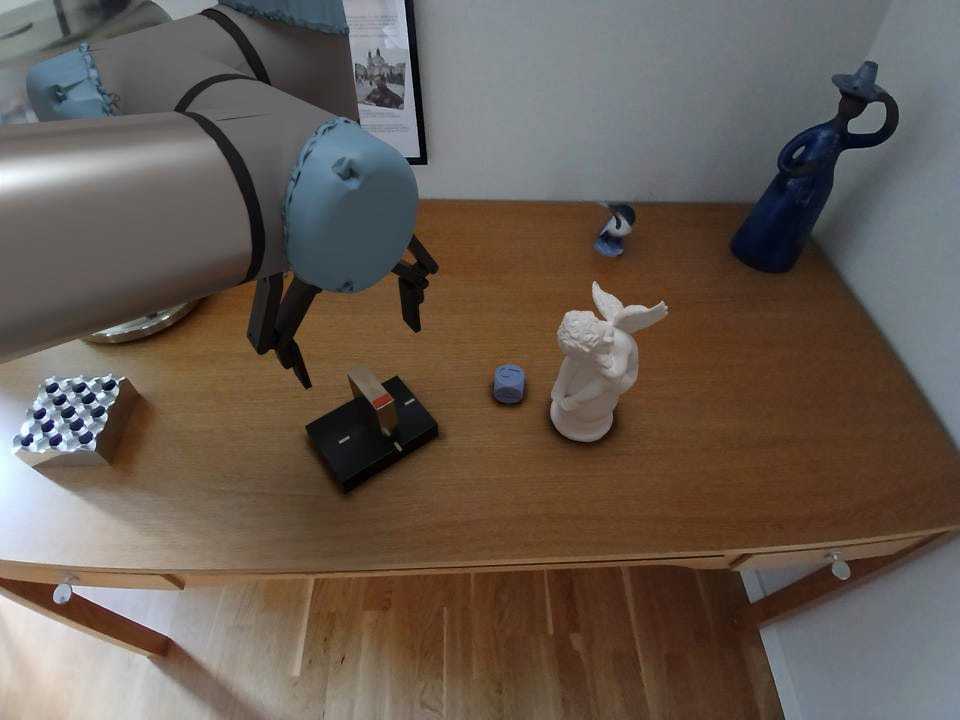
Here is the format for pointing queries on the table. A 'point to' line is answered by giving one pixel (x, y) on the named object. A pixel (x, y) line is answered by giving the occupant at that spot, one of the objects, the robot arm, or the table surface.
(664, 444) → the table surface
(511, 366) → the decorative dice
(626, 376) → the cherub figurine
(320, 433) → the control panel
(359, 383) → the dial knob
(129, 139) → the robot arm
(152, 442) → the table surface
